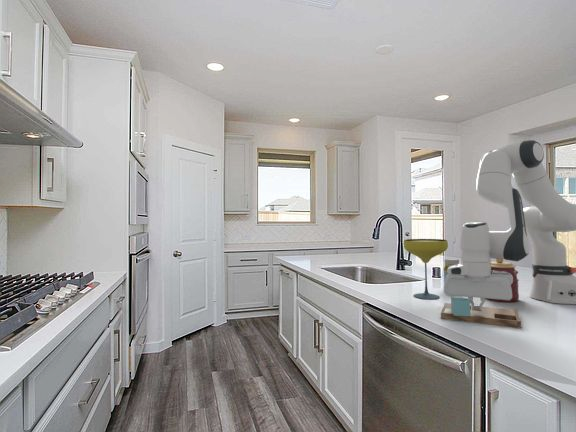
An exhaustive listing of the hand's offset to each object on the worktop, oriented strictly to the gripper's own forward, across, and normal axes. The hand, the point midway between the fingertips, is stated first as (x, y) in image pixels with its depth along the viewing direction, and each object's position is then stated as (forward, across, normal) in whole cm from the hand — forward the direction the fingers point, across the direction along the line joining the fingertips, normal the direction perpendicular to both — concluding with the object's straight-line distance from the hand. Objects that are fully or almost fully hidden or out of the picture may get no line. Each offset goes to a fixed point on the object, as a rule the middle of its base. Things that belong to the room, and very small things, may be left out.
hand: (476, 310), depth 113 cm
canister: (+3, -8, -37) cm, 38 cm away
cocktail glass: (+3, +20, -28) cm, 35 cm away
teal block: (+1, +5, +2) cm, 5 cm away
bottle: (+3, +11, -46) cm, 48 cm away
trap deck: (+3, -1, -4) cm, 5 cm away
